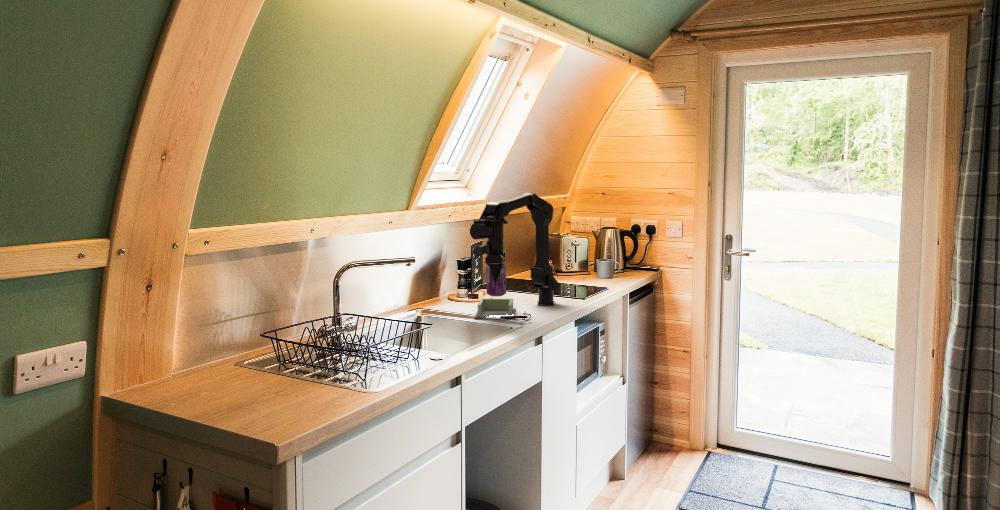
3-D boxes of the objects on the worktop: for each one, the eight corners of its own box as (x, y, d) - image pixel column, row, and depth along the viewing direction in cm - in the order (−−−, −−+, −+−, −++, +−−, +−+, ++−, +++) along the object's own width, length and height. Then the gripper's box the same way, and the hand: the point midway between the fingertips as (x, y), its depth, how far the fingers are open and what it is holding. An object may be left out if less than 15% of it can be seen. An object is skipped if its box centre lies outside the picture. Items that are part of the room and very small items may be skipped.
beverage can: (502, 297, 280) (502, 264, 278) (483, 296, 282) (483, 263, 280) (508, 294, 286) (508, 261, 285) (490, 293, 289) (490, 261, 287)
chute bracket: (479, 310, 294) (478, 297, 293) (516, 310, 293) (515, 297, 292) (474, 319, 279) (474, 305, 279) (513, 319, 278) (513, 306, 277)
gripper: (476, 234, 291) (476, 275, 293) (470, 240, 273) (471, 284, 275) (505, 234, 290) (506, 275, 292) (502, 240, 272) (502, 284, 274)
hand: (496, 279), depth 283 cm, fingers closed on beverage can, 7 cm apart
